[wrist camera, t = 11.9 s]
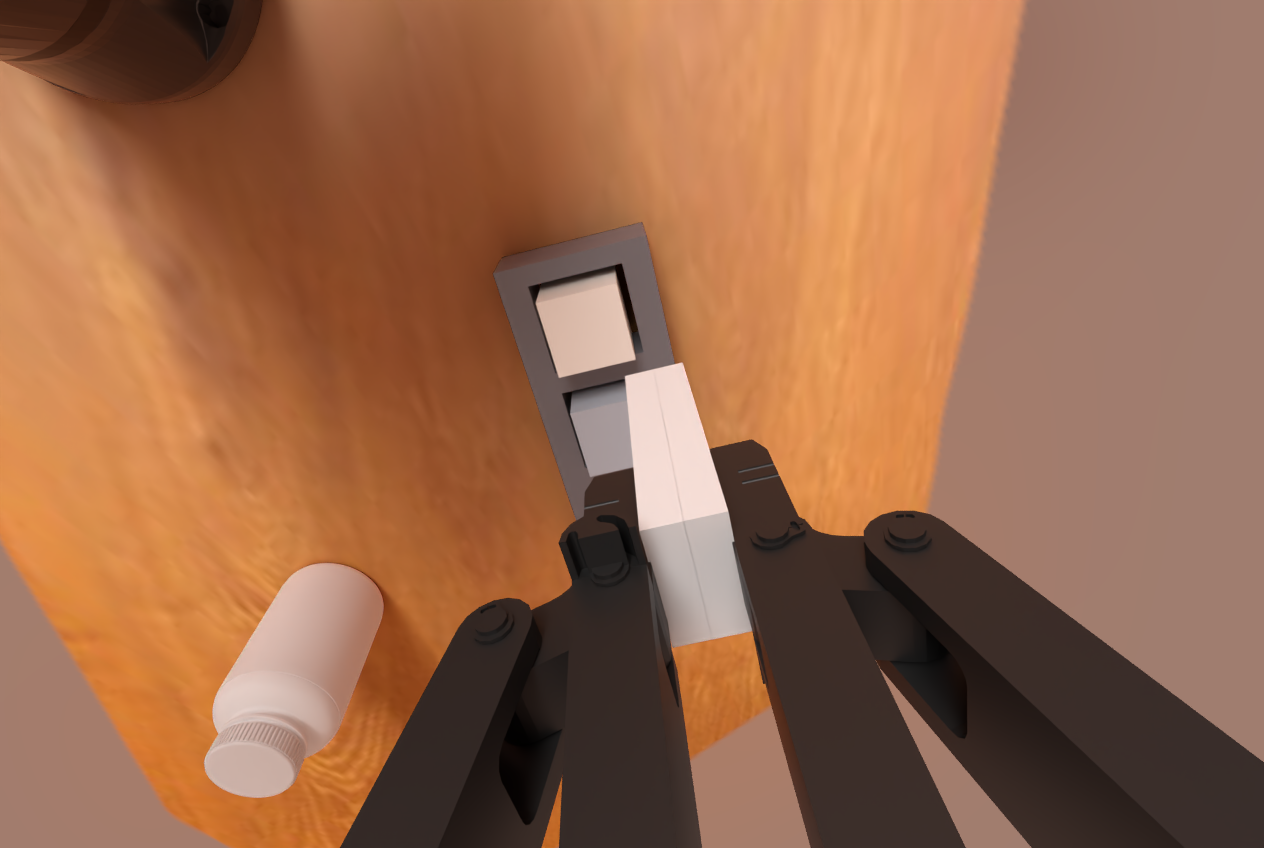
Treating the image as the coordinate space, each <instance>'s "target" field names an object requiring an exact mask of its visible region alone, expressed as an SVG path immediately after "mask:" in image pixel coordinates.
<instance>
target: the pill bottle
mask: <svg viewBox="0 0 1264 848" xmlns="http://www.w3.org/2000/svg"><path fill="white" fill-rule="evenodd" d="M383 610H384V604H383V598H382V595H381V593H380V591H379V589H378V587H377V586H376V584H375V583H374V582H373V581H372V580H371V579H370V578H369V577H367V576H366V575H365V574H363V573H362V572H360V571H358V570H356V569H354V568H351V567H348V566H345V565H341V564H335V563H318V564H313V565H309V566H306V567H304V568H302V569H300V570H298V571H297V572H295V573H294V574H293V575H291V576H290V577H289V578H288V580H287V581H286V582H285V583H284V585H283V586H282V587H281V589H280V591H279V592H278V594H277V596H276V597H275V599H274V600H273V602H272V604H271V605H270V607H269V609H268V610H267V612H266V613H265V615H264V617H263V618H262V620H261V622H260V623H259V625H258V626H257V628H256V630H255V631H254V633H253V635H252V636H251V638H250V639H249V641H248V643H247V644H246V646H245V648H244V649H243V651H242V653H241V654H240V656H239V657H238V659H237V661H236V662H235V664H234V666H233V667H232V669H231V670H230V672H229V674H228V675H227V677H226V679H225V680H224V682H223V683H222V685H221V687H220V689H219V690H218V692H217V694H216V697H215V700H214V705H213V721H214V725H215V728H216V730H217V732H218V733H219V734H218V736H217V737H216V739H215V740H214V742H213V744H212V746H211V747H210V749H209V751H208V753H207V755H206V757H205V761H204V763H205V764H204V765H205V771H206V773H207V775H208V777H209V778H210V779H211V780H212V781H213V782H214V783H215V784H216V785H217V786H219V787H220V788H222V789H224V790H226V791H228V792H230V793H233V794H236V795H240V796H245V797H255V798H260V797H269V796H274V795H277V794H279V793H282V792H284V791H285V790H287V789H288V788H289V787H290V786H292V784H293V783H294V782H295V780H296V778H297V776H298V773H299V771H300V768H301V766H302V764H303V761H304V758H306V757H309V756H311V755H313V754H315V753H317V752H318V751H320V750H321V749H323V748H324V747H325V746H326V745H327V744H328V743H329V742H330V741H331V740H332V738H333V737H334V736H335V735H336V733H337V731H338V729H339V727H340V725H341V723H342V720H343V718H344V715H345V712H346V710H347V707H348V705H349V702H350V700H351V697H352V694H353V692H354V689H355V687H356V684H357V682H358V679H359V676H360V674H361V671H362V669H363V666H364V664H365V661H366V659H367V656H368V653H369V651H370V648H371V646H372V643H373V641H374V638H375V635H376V633H377V630H378V628H379V625H380V623H381V619H382V615H383Z"/></svg>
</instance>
